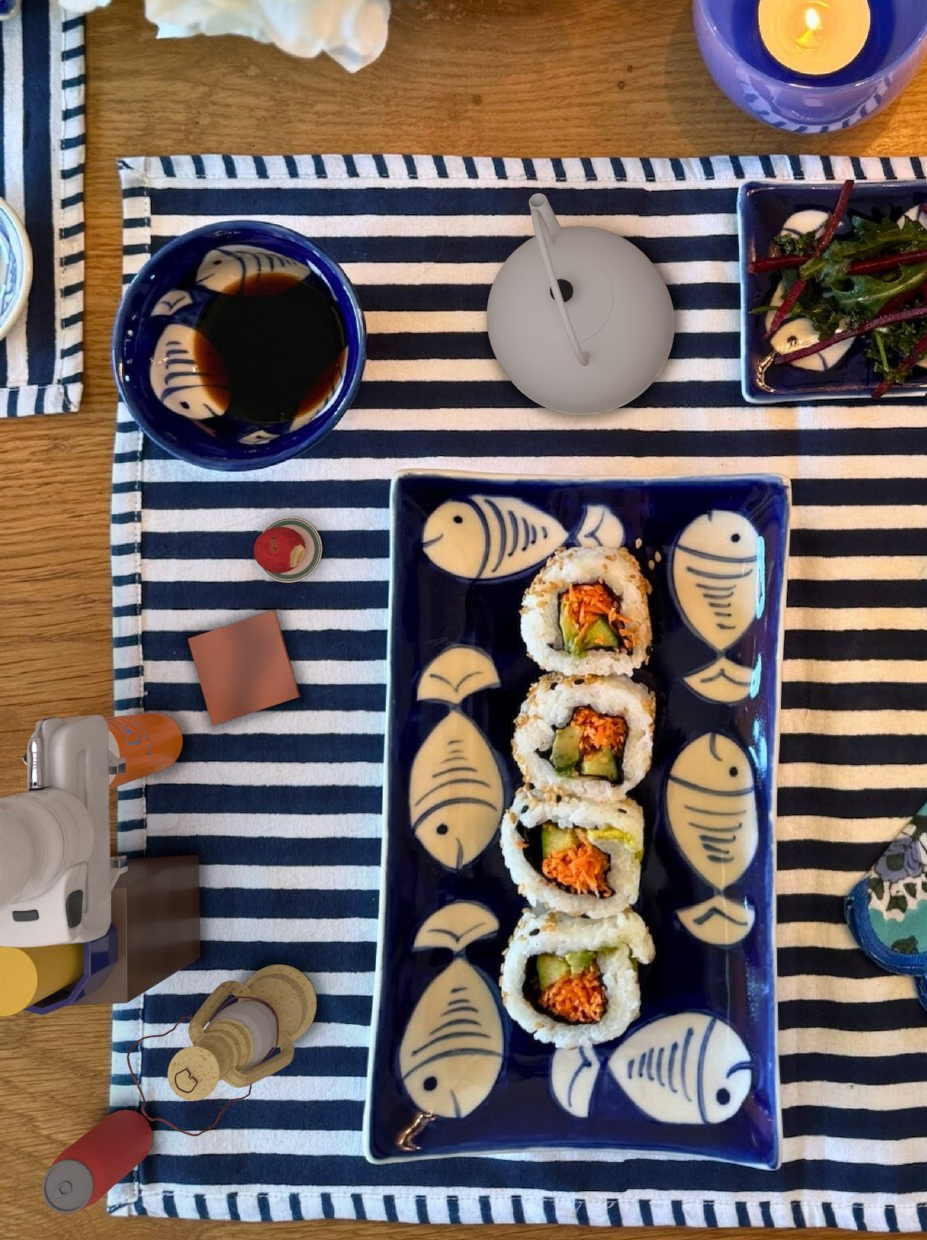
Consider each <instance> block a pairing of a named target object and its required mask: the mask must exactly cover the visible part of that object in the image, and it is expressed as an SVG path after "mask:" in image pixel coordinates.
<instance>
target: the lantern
mask: <svg viewBox="0 0 927 1240" xmlns="http://www.w3.org/2000/svg"><path fill="white" fill-rule="evenodd" d="M230 995H233V996H234V997H232V998H230V999H228V1000H227V998H229V996H230ZM236 999H238V1000H237V1001H236V1002H234V1003H231V1002H232V1001H234V1000H236ZM226 1000H227V1001H226ZM225 1001H226V1002H225ZM224 1002H225V1003H224ZM223 1003H224V1004H223ZM229 1003H231V1004H229ZM228 1004H229V1005H228ZM227 1005H228V1006H227ZM220 1006H221V1007H220ZM317 1007H318V1004H317V993H316V990H315V987H314V985H313V983H312V981H311V980H310V979H309V978H308V977H307V976H306V974H304V972H302V971H301V970H299V969H298V968H295V967H294V966H291V965H287V964H279V963H278V964H270V965H267V966H265V967H262V968H261V969H258V970H257V971H256V972H255V973H253V974H252V975H251V976H250V977H249V978H248V979H247V981H246V982H245V983H242V982H240V981H237V980H227V981H223V982H221V983H220V984H219V985H218V986H217V987H216V988H215V989H214V990H213V991H212V992H211V993H210V995H209V996H208V997H207V998H206V999H205V1001H204V1002H203V1003H202V1004H201V1006H200V1007H199V1008H198V1010H197V1012H196V1013H195V1014H194V1016H193V1017H192V1016H189V1015H185V1016H184V1017H182V1018H180V1019H179V1020H178V1021H177V1022H176V1023H175V1024H174V1027H173V1028H171V1029H169V1030H168V1031H166V1032H165V1033H161V1034H153V1035H152V1034H151V1035H145V1036H143V1037H141V1038H139V1039H138V1040H136V1041H135V1042H134V1043H133V1044H132V1045H131V1046H130V1048H129V1049H128V1051H127V1054H126V1062H127V1066H128V1069H129V1072H130V1074H131V1076H132V1079H133V1081H134V1083H135V1086H136V1087H137V1089H138V1091H139V1094H140V1096H141V1098H142V1103H143V1104H142V1106H141V1112H142V1115H143V1116H144V1118H145V1119H146V1120H149V1121H151V1122H155V1121H159V1122H163V1123H164V1124H166V1125H168V1126H170V1127H171V1128H173V1129H174V1130H175V1131H177V1132H180V1133H181V1134H182V1133H183V1134H184V1135H187V1136H190V1137H199V1136H201V1135H202V1134H205V1133H206V1132H209V1131H210V1130H211V1129H212V1128H214V1127H215V1126H216V1125H217V1124H218V1122H219V1120H220V1118H221V1116H222V1114H223V1113H224V1112H225V1111H226V1110H227V1109H228V1108H229V1106H230V1105H231V1104H232V1103H233V1102H236V1101H241V1100H245V1099H246V1098H248V1097H249V1096H250V1095H251V1091H252V1087H253V1086H252V1085H254V1084H255V1083H257V1082H259V1081H261V1080H263V1079H266V1078H268V1077H269V1076H272V1075H274V1074H275V1073H277V1072H279V1071H281V1070H282V1069H284V1068H285V1067H287V1066H289V1065H290V1064H291V1063H292V1061H293V1059H294V1055H295V1046H294V1045H295V1044H294V1042H295V1041H296V1040H299V1039H300V1038H301V1037H302V1036H303V1035H305V1033H306V1032H307V1031H309V1028H310V1027H311V1025H312V1024H313V1021H314V1020H315V1017H316V1013H317ZM185 1019H189V1020H190V1022H189V1025H188V1028H187V1032H188V1036H189V1040H190V1042H191V1043H192V1045H191V1046H186V1047H184V1048H182V1049H180V1050H179V1051H178V1052H177V1053H176V1054H174V1056H172V1058H171V1060H170V1062H169V1064H168V1068H167V1082H168V1084H169V1086H170V1088H171V1090H172V1091H173V1093H174V1094H175V1095H176V1096H178V1097H179V1098H180V1099H183V1100H186V1101H192V1102H195V1101H200V1100H203V1099H205V1098H206V1097H208V1096H210V1095H211V1094H212V1093H213V1092H214V1090H215V1089H216V1088H217V1085H218V1084H219V1081H223V1082H224V1083H226V1084H227V1085H229V1086H231V1087H234V1088H237V1089H241V1088H245V1087H249V1088H248V1093H247V1094H246V1095H244V1096H242V1097H236V1098H232V1099H231V1100H230V1101H228V1103H227V1104H226V1105H225V1107H223V1108H222V1109H221V1110H220V1112H219V1114H218V1116H217V1118H216V1120H215V1122H214V1123H213V1124H212V1125H210V1126H209V1127H208V1128H205V1129H203V1130H202V1131H200V1132H198V1133H191V1132H189V1131H185V1130H183V1129H181V1128H179V1127H177V1126H176V1125H174V1124H172V1123H171V1122H169V1121H168V1120H166V1119H164V1118H161V1117H154V1118H152V1117H150V1116H149V1115H148V1114H147V1112H145V1107H146V1105H147V1103H146V1098H145V1095H144V1092H143V1089H142V1087H141V1085H140V1083H139V1081H138V1080H137V1077H136V1075H135V1073H134V1071H133V1067H132V1064H131V1060H130V1054H131V1052H132V1050H133V1049H134V1048H135V1046H137V1045H138V1044H139V1043H140V1042H142V1041H143V1040H146V1039H150V1038H151V1039H152V1038H161V1037H166V1036H167V1035H168V1034H170V1033H172V1032H174V1031H175V1030H176V1029H177V1027H178V1025H179V1024H180V1023H181V1022H182V1021H184V1020H185ZM277 1047H279V1049H280V1052H279V1053H278V1054H276V1055H274V1056H272V1057H270V1056H271V1055H272V1054H273V1053H274V1052H275V1050H276V1048H277ZM268 1057H270V1058H268ZM267 1058H268V1059H267Z"/></svg>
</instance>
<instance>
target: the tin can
mask: <svg viewBox="0 0 927 1240" xmlns="http://www.w3.org/2000/svg"><path fill="white" fill-rule="evenodd" d="M83 975H84V945H83V944H82V943H73V944H61V945H49V946H40V947H4V946H0V1017H9V1016H13V1015H16V1014H18V1013H20V1012H22V1011H24V1010H23V1009H25V1008H27V1007H29V1006H31V1005H33V1004H34V1003H36V1002H38V1001H40V1000H42V999H44V998H45V997H47V996H49V995H51V994H53V993H54V992H56V991H58V990H60V989H62V988H64V987H65V986H67V985H69V984H71V983H73V982H75V981H76V980H78V979H80V978H82V977H83Z"/></svg>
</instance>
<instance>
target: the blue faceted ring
mask: <svg viewBox="0 0 927 1240" xmlns="http://www.w3.org/2000/svg"><path fill="white" fill-rule="evenodd" d="M82 944H83V945H84V975H83V977H82V978H81V980H80V981H79V983H78V984H77V986H76V987H75V989H74V990H73V992H68V991H65V990H61V989H60V990H58V991H56V992H54V993H53V994H51V995H49V996H47V997H45V998H44V999H42V1000H40V1001H38V1002H36V1003H34V1004H33V1005H31V1006H29V1007H27V1008H25V1009H23V1010H22V1011H26V1012H29V1013H32V1014H36V1015H39V1016H45V1015H47V1014H51V1013H52V1012H55V1011H58V1010H60V1009H63V1008H64V1007H69V1006H68V1005H70V1004H73V1003H74V1002H76V1001H78V1000H79V999H81V998H83V997H85V996H86V995H88V994H90V993H92V992H93V991H95V990H97V989H99V988H100V987H101V985H102V984H103V982H104V981H105V979H106V978H107V976H108V975H109V973H110V972H111V970H112V969H113V967H114V966H115V964H116V963H117V929H116V928H115V926H114V925H113V924H112V922H111V924H110V927H109V929H108V931H107V933H106V934H105V935H104V936H102V937H100V938H98V939H95V940H92V941H89V942H84V943H82Z"/></svg>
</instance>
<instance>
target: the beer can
mask: <svg viewBox="0 0 927 1240" xmlns="http://www.w3.org/2000/svg"><path fill="white" fill-rule="evenodd" d="M152 1143H153V1130H152V1128H151V1126H150V1123H149V1121H148V1119H147V1118H146V1117H145V1116H144V1115H143V1114H142V1113H140V1112H138V1111H135V1110H131V1109H122V1110H117V1111H115V1112H112V1113H111V1114H109V1115H107V1116H106V1117H105V1118H103V1120H101V1121H100V1122H99V1123H97V1124H96V1125H94V1127H92V1128H91V1129H90V1130H88V1131H87V1132H86V1133H84V1134H83V1135H82V1136H81V1137H80V1138H78V1139H77V1140H75V1141H74V1142H73V1143H72V1144H70V1145H69V1146H68V1147H67V1148H65V1149H64V1150H63V1151H61V1153H60V1154H59V1155H58V1156H56V1157H55V1159H54V1160H53V1162H52V1164H51V1165H50V1168H49V1169H47V1170H46V1173H45V1175H44V1176H43V1180H42V1183H41V1191H42V1192H41V1193H42V1197H43V1200H44V1201H45V1204H46V1205H47V1206H48V1207H49V1208H50V1209H51V1210H53V1211H54V1212H56V1213H59V1214H62V1215H67V1214H68V1215H70V1214H74V1213H76V1212H79V1211H81V1210H84V1209H86V1208H89V1207H90V1206H93V1205H94V1204H96V1203H97V1202H98V1201H99V1200H100V1199H102V1197H103V1196H104V1195H106V1193H108V1192H109V1191H110V1190H111V1189H112V1188H114V1187H115V1186H116V1185H117V1184H118V1183H119V1182H120V1181H122V1180H123V1179H124V1178H125V1177H126V1176H127V1175H129V1173H130V1172H132V1171H133V1170H134V1169H135V1168H136V1167H137V1166H139V1164H141V1162H142V1161H144V1160H145V1158H146V1157H148V1154H149V1152H150V1150H151V1147H152Z"/></svg>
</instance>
